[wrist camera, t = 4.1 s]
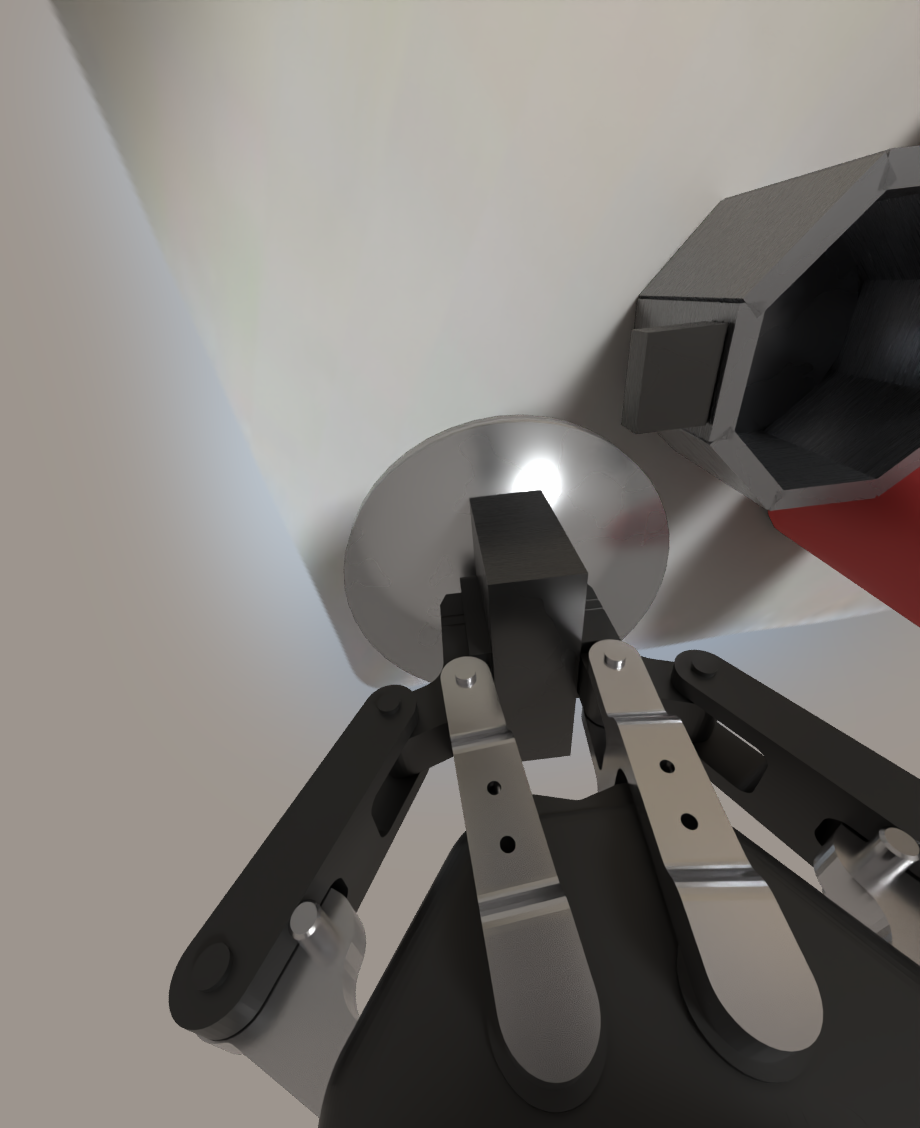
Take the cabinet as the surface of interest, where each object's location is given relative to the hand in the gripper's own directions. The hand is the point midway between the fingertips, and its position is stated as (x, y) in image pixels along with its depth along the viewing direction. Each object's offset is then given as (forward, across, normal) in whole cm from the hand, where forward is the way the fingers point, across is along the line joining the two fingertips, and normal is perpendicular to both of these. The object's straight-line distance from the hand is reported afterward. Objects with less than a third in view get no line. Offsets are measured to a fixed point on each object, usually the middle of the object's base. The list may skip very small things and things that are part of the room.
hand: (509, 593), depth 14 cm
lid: (+1, 0, 0) cm, 1 cm away
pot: (+9, -12, -6) cm, 16 cm away
